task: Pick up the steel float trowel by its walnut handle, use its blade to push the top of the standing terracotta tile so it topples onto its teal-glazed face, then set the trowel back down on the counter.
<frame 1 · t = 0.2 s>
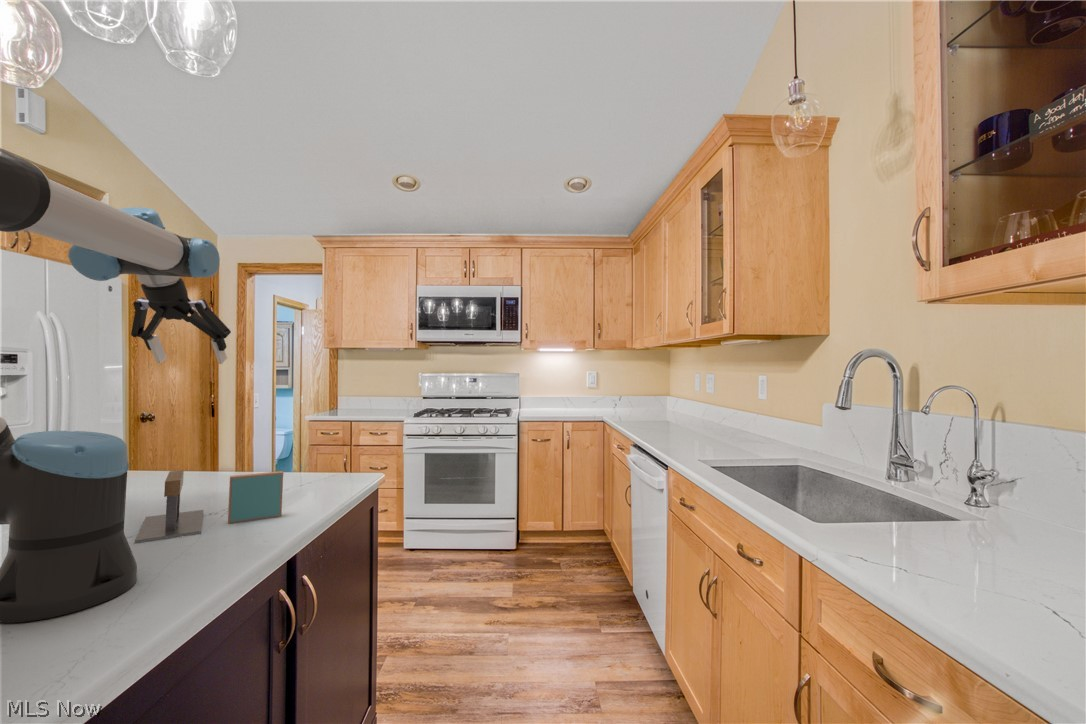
hand: (193, 360, 111), 35 cm above the countertop, tool tilted 35°, fingers open, 13 cm apart
trowel: (172, 527, 94), on the countertop
tile: (255, 519, 100), on the countertop
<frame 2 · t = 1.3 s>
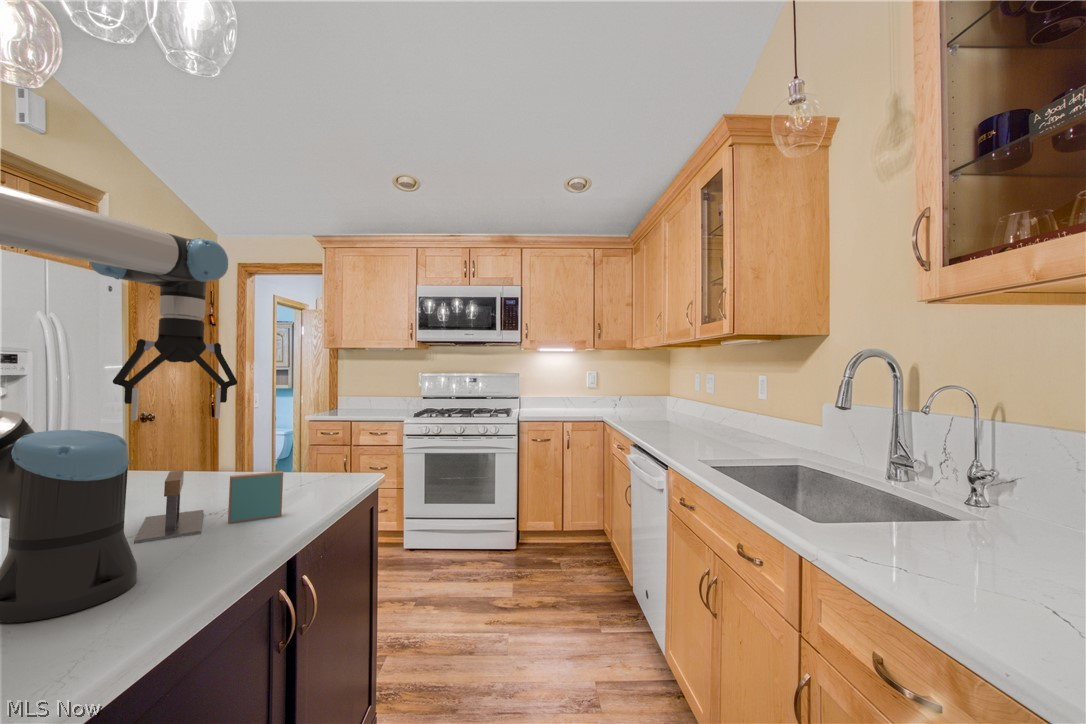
hand: (177, 419, 94), 22 cm above the countertop, tool pointing down, fingers open, 13 cm apart
nothing on the countertop moved.
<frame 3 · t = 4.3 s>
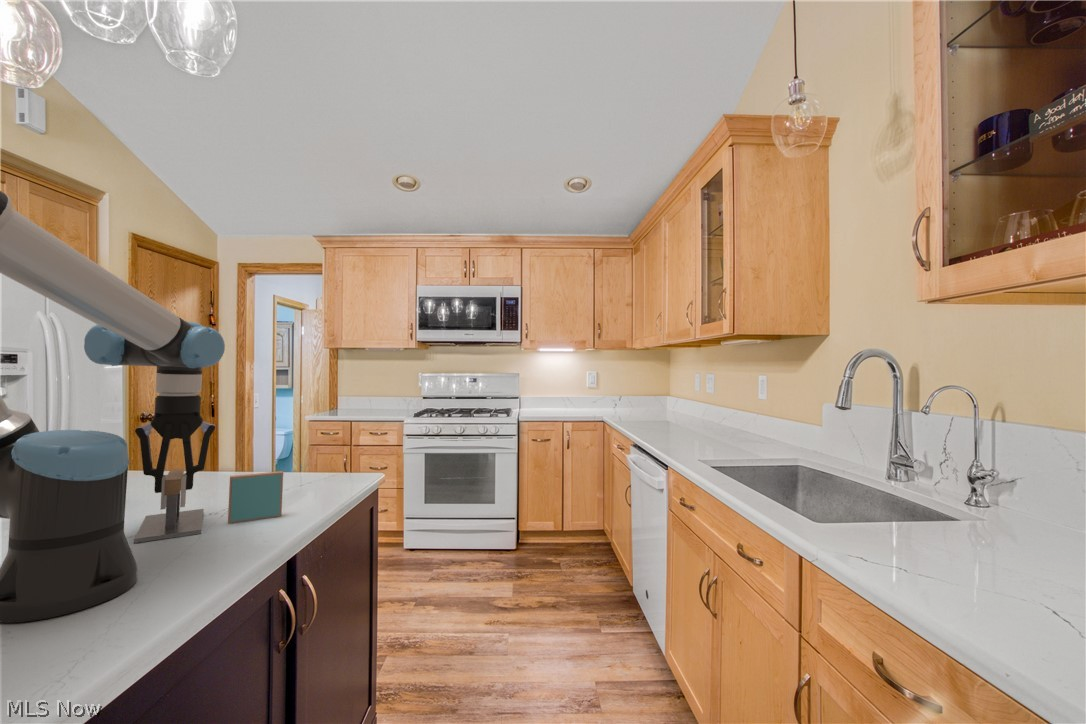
hand: (173, 506, 94), 4 cm above the countertop, tool pointing down, fingers closed on trowel, 2 cm apart
trowel: (172, 526, 94), on the countertop, touching gripper
everything else where it was.
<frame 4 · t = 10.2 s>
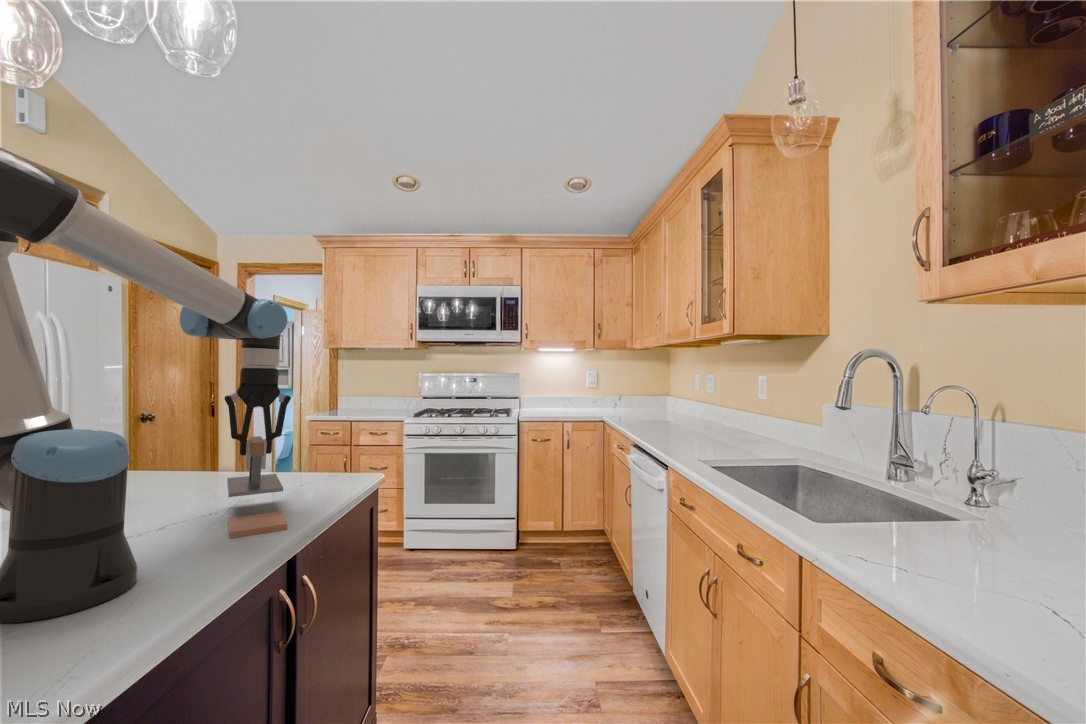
hand: (255, 468, 104), 10 cm above the countertop, tool pointing down, fingers closed on trowel, 2 cm apart
trowel: (254, 486, 104), point 6 cm above the countertop, touching gripper
tile: (255, 518, 99), on the countertop, tilted 90°
everything else where it was.
when the fingers open (5 cm above the countertop, at t = 16.0 s): trowel drops 2 cm, on the countertop.
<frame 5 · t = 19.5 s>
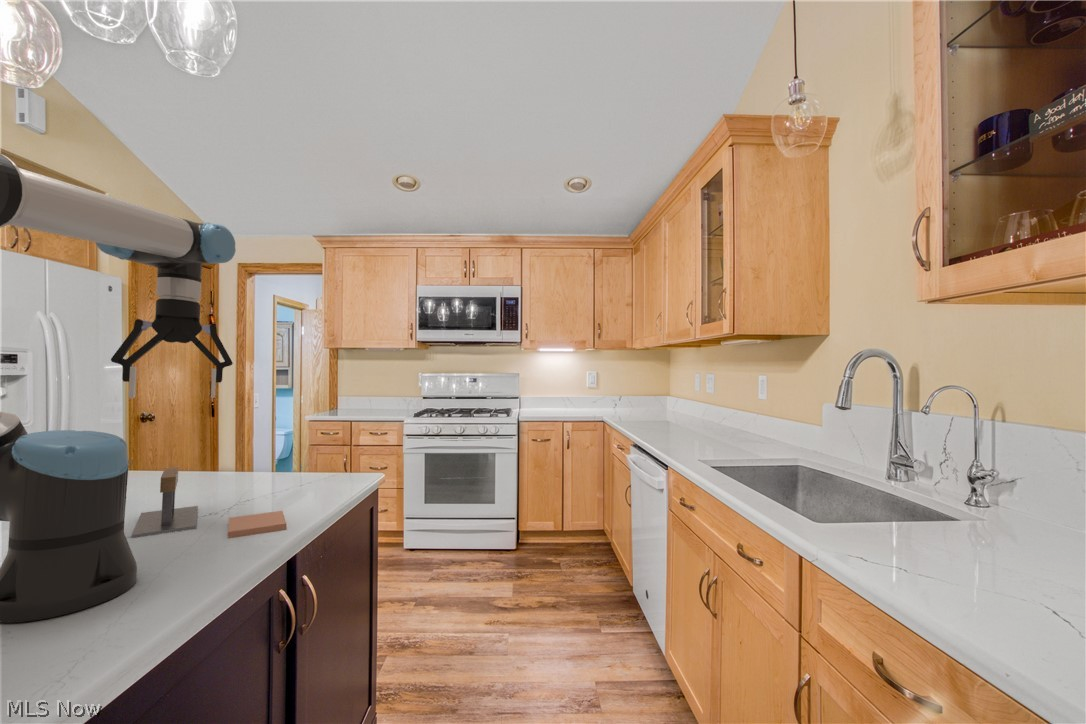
hand: (174, 397, 97), 27 cm above the countertop, tool pointing down, fingers open, 13 cm apart
trowel: (167, 522, 96), on the countertop
at the end: tile tilted 90°; the gripper is holding nothing; trowel touching countertop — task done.
